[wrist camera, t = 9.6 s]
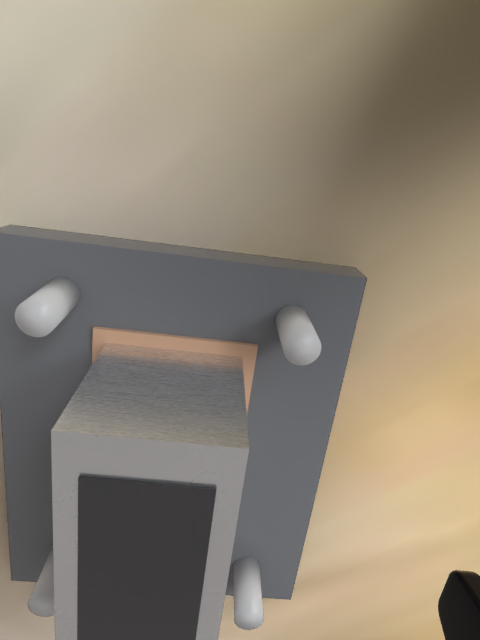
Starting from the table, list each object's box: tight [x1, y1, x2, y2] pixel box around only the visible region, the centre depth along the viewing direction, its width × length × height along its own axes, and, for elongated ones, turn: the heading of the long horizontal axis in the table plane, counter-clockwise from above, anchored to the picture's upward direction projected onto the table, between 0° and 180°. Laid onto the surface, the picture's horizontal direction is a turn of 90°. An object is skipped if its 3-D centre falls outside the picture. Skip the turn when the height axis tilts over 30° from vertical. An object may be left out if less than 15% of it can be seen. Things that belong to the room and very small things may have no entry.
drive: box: [51, 343, 249, 640], centre depth 16 cm, size 5×9×6 cm, turn 173°
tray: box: [0, 225, 367, 630], centre depth 18 cm, size 13×16×4 cm
